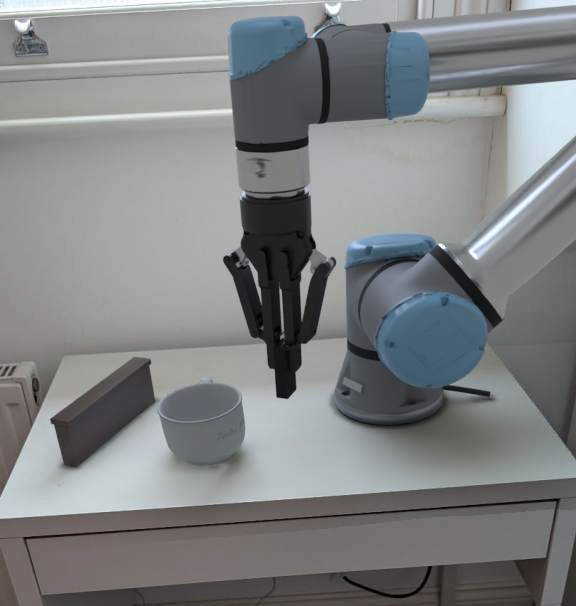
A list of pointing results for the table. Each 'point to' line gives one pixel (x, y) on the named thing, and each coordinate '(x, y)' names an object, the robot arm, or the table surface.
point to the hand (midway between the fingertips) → (286, 393)
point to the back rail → (103, 410)
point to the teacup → (203, 421)
